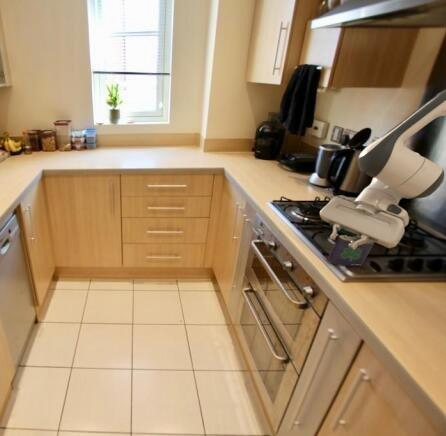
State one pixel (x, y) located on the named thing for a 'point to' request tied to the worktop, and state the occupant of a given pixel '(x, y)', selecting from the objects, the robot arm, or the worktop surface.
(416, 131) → the robot arm
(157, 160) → the worktop surface
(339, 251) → the flask
